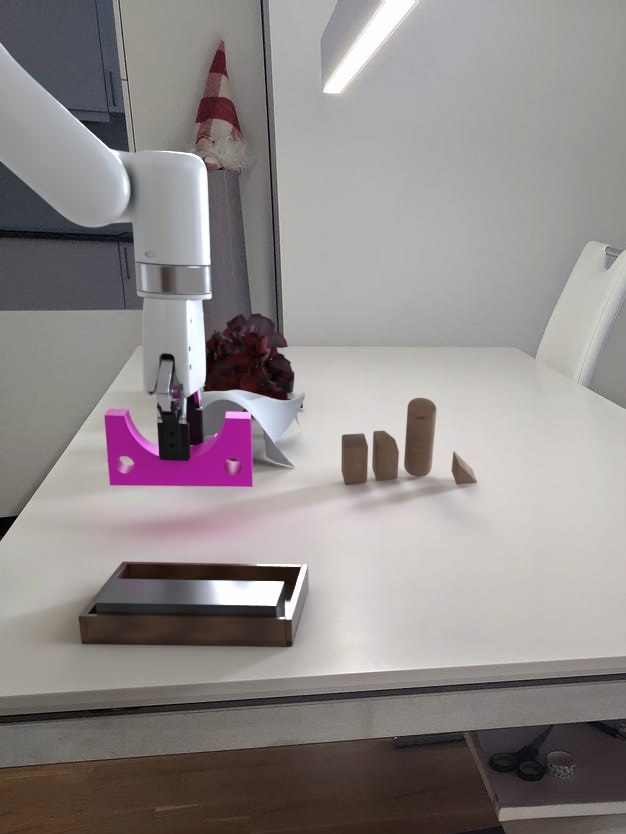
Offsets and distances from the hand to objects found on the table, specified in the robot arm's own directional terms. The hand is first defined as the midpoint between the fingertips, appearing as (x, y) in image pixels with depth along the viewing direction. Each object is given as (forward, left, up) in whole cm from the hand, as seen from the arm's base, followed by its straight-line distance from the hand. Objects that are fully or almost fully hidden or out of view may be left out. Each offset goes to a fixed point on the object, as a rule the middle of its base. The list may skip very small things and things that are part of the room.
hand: (182, 450), depth 114 cm
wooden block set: (+25, +25, -9) cm, 36 cm away
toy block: (0, 0, -3) cm, 3 cm away
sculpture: (0, +42, -9) cm, 43 cm away
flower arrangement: (-5, +79, -9) cm, 80 cm away
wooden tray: (+7, -26, -9) cm, 28 cm away
